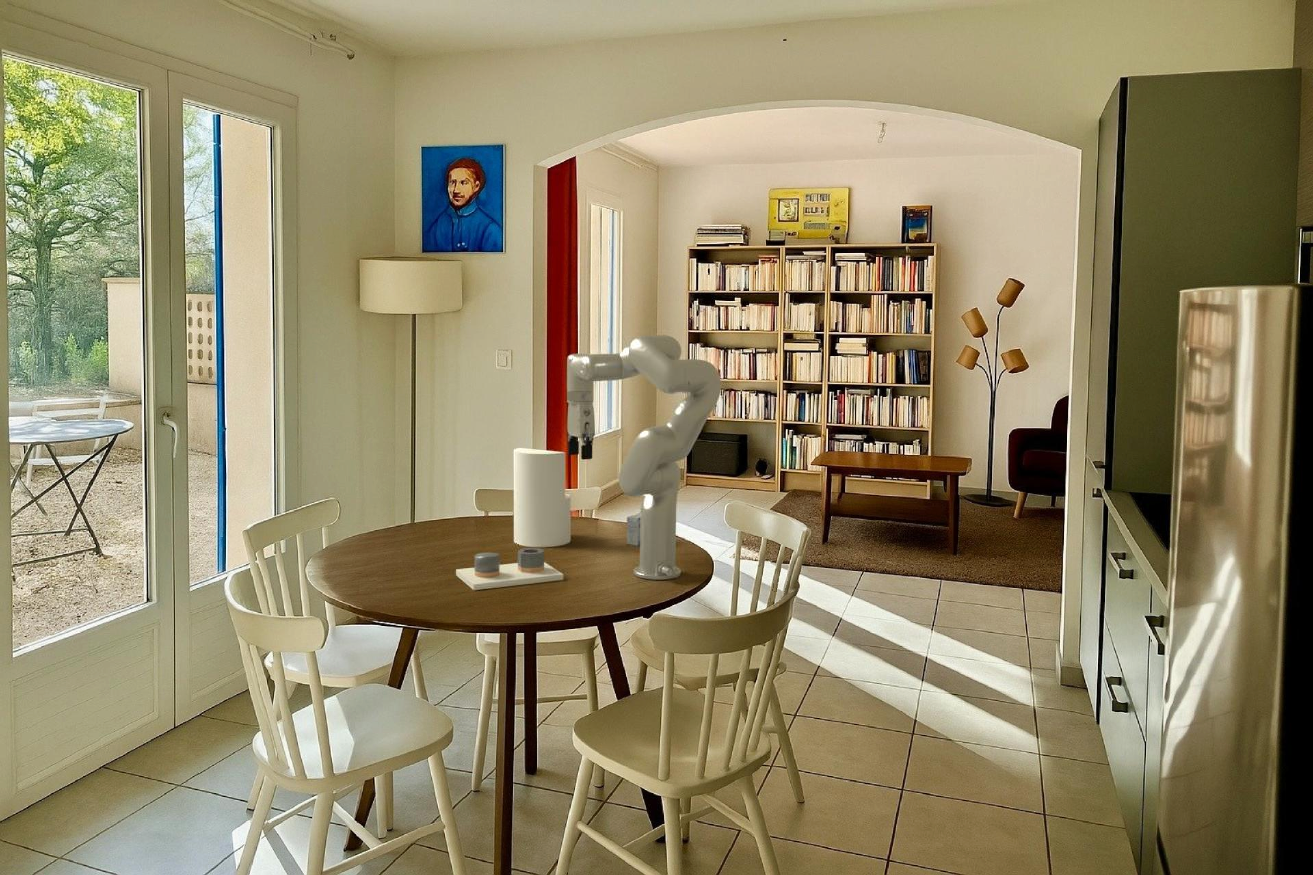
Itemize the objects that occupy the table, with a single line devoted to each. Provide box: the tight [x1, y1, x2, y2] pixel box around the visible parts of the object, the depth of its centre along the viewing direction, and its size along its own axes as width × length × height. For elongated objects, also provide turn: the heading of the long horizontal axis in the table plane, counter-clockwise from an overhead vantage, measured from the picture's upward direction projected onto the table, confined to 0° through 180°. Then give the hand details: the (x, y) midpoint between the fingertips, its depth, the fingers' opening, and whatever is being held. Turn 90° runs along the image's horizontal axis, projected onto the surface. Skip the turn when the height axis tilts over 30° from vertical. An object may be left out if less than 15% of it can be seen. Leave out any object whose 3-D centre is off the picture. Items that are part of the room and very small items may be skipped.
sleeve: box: [517, 547, 545, 573], centre depth 260 cm, size 6×6×5 cm
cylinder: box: [513, 447, 572, 548], centre depth 299 cm, size 17×17×28 cm
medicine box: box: [626, 513, 640, 547], centre depth 299 cm, size 8×4×9 cm, turn 143°
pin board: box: [455, 552, 564, 591], centre depth 258 cm, size 16×24×6 cm, turn 117°
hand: (580, 456), depth 282 cm, fingers open, 9 cm apart
